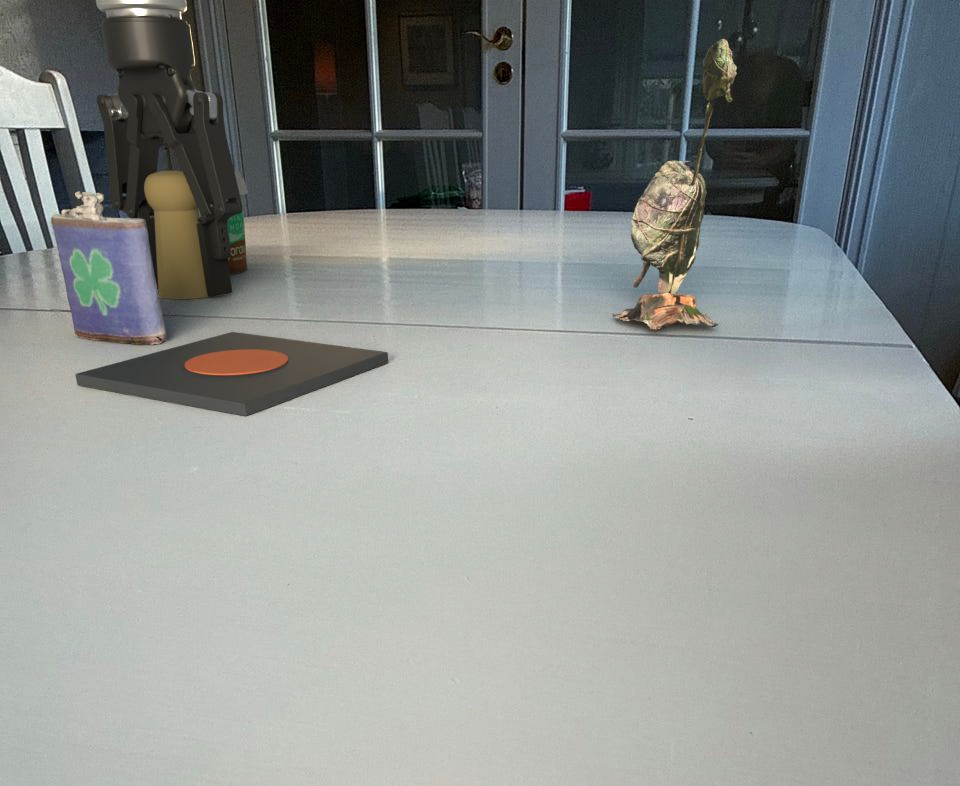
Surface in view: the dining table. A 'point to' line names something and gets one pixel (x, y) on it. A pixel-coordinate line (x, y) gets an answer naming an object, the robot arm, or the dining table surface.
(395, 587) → the dining table surface
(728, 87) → the plant with pod
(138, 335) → the flask
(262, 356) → the placemat
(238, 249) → the food container
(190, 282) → the cork
